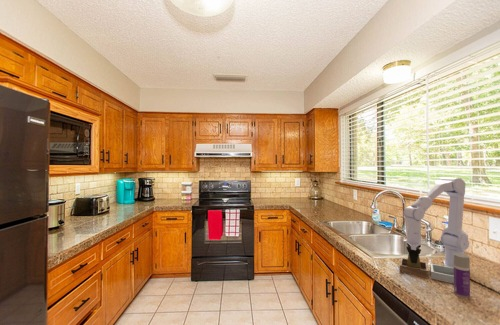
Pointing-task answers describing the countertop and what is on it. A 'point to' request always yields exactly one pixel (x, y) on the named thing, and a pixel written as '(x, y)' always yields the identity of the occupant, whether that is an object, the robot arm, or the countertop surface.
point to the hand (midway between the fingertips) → (413, 260)
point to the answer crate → (440, 275)
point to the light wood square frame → (414, 270)
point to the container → (461, 275)
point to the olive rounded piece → (415, 265)
